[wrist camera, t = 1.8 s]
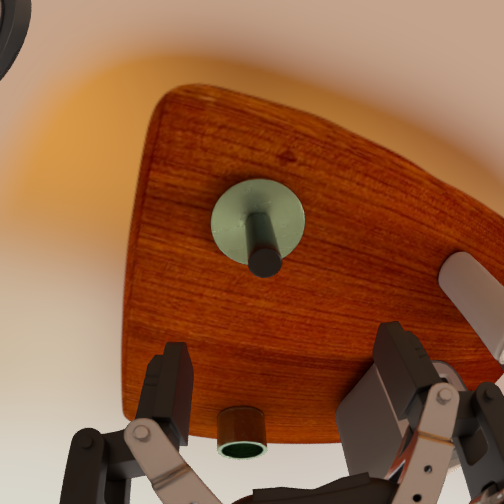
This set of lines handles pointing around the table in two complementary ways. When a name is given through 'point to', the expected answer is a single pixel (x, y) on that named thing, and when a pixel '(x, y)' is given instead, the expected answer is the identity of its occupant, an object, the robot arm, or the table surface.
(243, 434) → the pot
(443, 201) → the table surface
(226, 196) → the lid
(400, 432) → the alarm clock
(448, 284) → the beverage can
